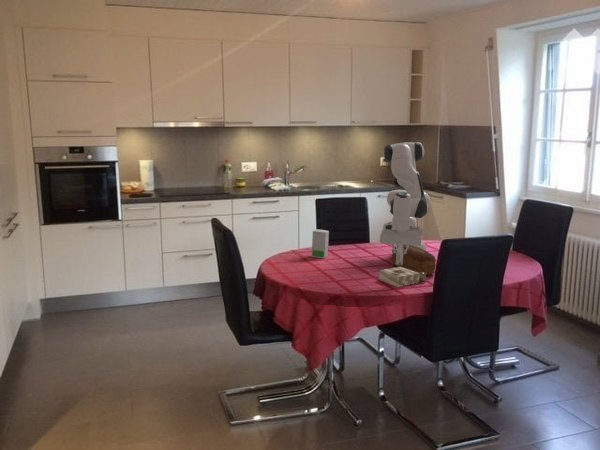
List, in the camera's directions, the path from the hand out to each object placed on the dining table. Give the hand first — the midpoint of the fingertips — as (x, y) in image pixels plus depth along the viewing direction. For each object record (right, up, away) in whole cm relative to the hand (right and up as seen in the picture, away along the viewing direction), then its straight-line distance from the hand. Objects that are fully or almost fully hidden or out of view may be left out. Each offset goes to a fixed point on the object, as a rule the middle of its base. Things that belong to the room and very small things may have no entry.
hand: (399, 253), depth 287 cm
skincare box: (-38, -5, +51) cm, 64 cm away
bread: (+11, -11, +25) cm, 29 cm away
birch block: (0, -14, +3) cm, 15 cm away
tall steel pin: (0, -6, +1) cm, 6 cm away
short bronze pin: (+12, -14, +3) cm, 19 cm away
